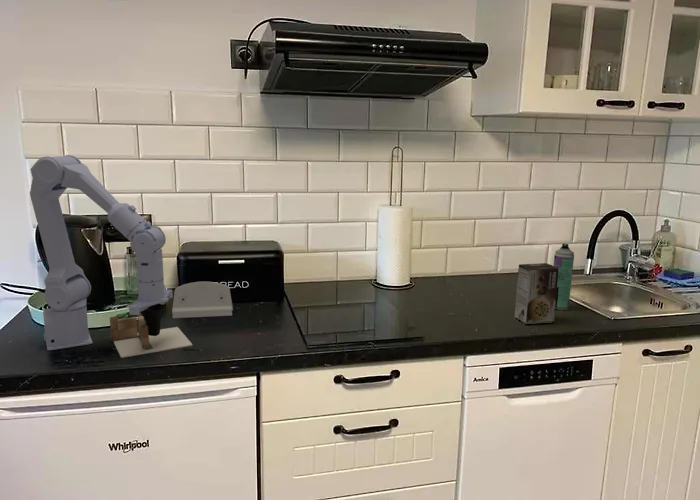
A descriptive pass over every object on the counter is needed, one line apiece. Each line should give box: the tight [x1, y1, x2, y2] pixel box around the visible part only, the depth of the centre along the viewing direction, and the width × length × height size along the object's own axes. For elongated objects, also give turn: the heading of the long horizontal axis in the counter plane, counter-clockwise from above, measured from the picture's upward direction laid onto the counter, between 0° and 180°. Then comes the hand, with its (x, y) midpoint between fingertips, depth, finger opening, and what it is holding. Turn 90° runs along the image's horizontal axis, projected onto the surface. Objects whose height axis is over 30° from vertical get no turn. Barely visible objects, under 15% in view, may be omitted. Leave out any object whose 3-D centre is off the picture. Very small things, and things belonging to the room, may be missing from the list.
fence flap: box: [137, 313, 149, 348], centre depth 132 cm, size 11×2×6 cm, turn 26°
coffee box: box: [514, 262, 559, 323], centre depth 155 cm, size 9×6×16 cm
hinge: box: [171, 281, 234, 319], centre depth 157 cm, size 17×5×10 cm, turn 103°
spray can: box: [553, 243, 575, 308], centre depth 168 cm, size 6×6×20 cm
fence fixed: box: [109, 316, 138, 342], centre depth 135 cm, size 6×2×6 cm, turn 121°
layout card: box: [112, 326, 193, 359], centre depth 134 cm, size 16×14×1 cm
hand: (153, 334), depth 131 cm, fingers closed, pressing on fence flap
